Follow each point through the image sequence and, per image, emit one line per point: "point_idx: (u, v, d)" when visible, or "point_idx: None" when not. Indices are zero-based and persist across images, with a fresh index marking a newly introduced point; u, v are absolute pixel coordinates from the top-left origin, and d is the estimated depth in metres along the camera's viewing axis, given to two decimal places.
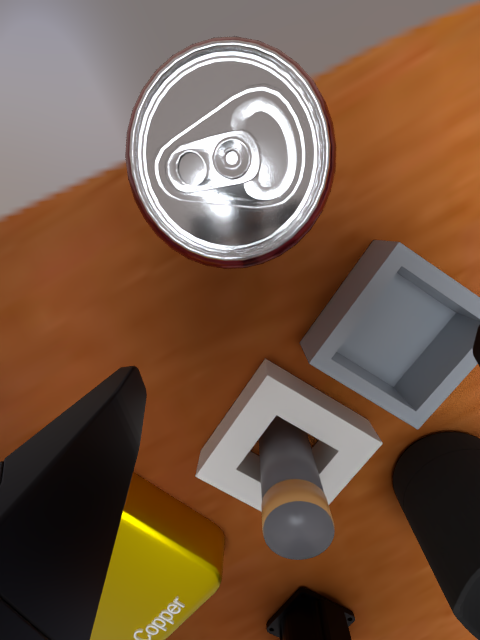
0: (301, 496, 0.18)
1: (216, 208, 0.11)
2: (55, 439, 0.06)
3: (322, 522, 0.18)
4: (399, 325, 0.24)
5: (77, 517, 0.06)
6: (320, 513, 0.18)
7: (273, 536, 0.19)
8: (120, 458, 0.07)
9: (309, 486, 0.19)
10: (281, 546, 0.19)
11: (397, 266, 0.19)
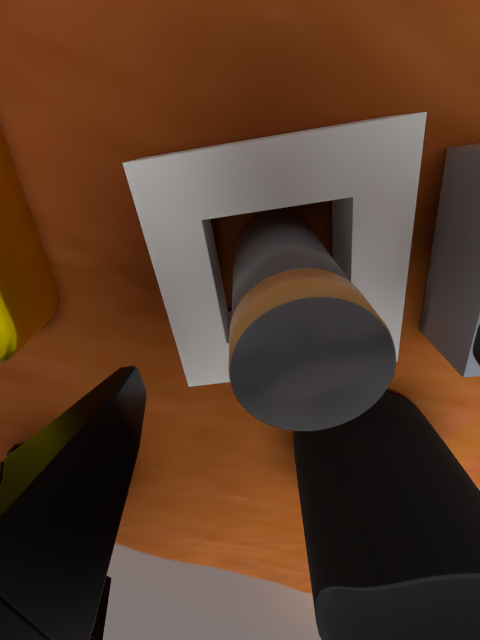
0: None
1: None
2: (55, 439, 0.06)
3: (365, 389, 0.08)
4: None
5: (77, 517, 0.06)
6: (384, 373, 0.08)
7: (265, 344, 0.07)
8: (120, 458, 0.07)
9: None
10: (255, 374, 0.08)
11: None
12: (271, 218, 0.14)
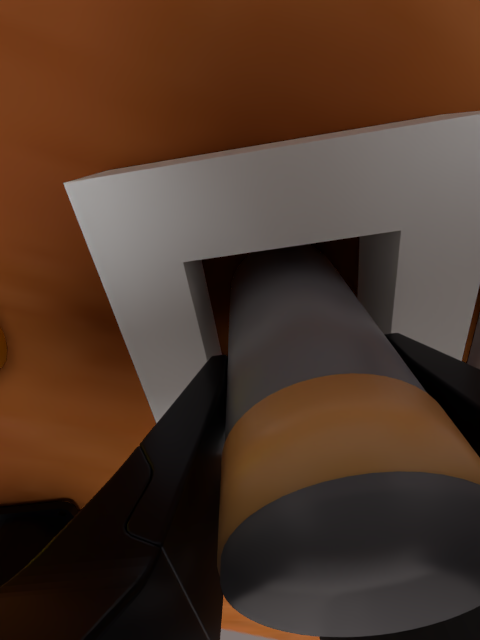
0: None
1: None
2: (185, 424, 0.06)
3: (461, 595, 0.05)
4: None
5: (211, 504, 0.06)
6: None
7: (286, 546, 0.04)
8: None
9: None
10: (265, 580, 0.04)
11: None
12: (280, 252, 0.10)
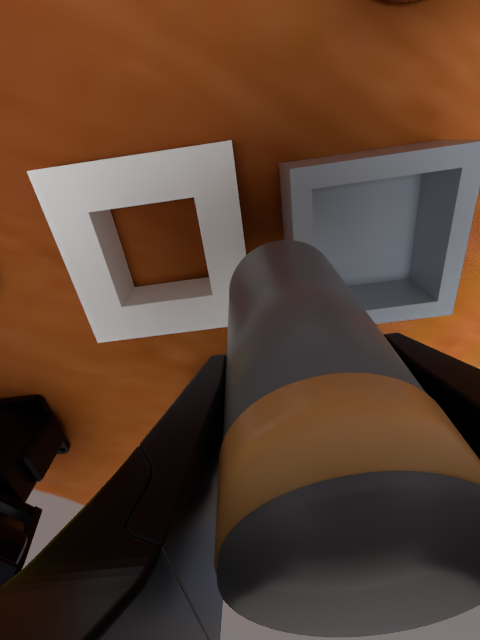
0: None
1: None
2: (185, 424, 0.06)
3: (460, 595, 0.05)
4: (367, 243, 0.20)
5: (210, 504, 0.06)
6: None
7: (283, 546, 0.04)
8: None
9: None
10: (263, 580, 0.04)
11: (459, 163, 0.15)
12: (279, 251, 0.10)
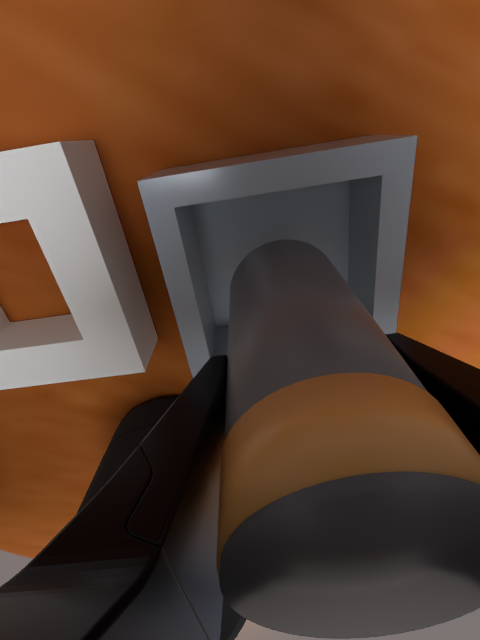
0: None
1: None
2: (185, 424, 0.06)
3: (463, 596, 0.05)
4: None
5: (211, 504, 0.06)
6: None
7: (286, 547, 0.04)
8: None
9: None
10: (265, 582, 0.04)
11: (378, 169, 0.11)
12: (280, 251, 0.10)
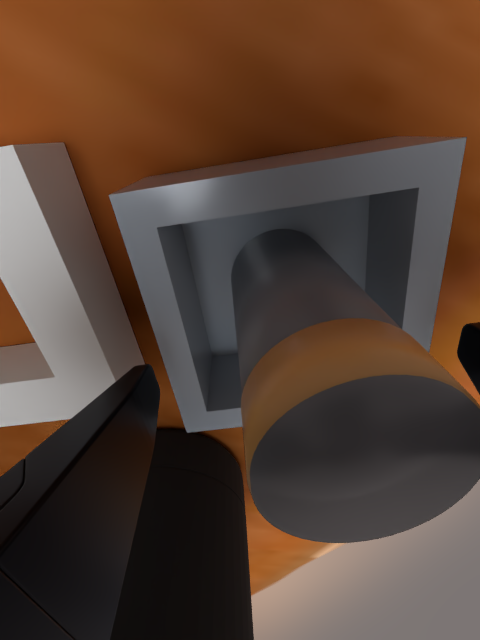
0: None
1: None
2: (75, 437, 0.06)
3: (442, 490, 0.06)
4: None
5: (98, 515, 0.06)
6: (472, 471, 0.06)
7: (305, 444, 0.05)
8: (137, 456, 0.07)
9: None
10: (287, 481, 0.05)
11: (413, 180, 0.08)
12: (278, 238, 0.11)
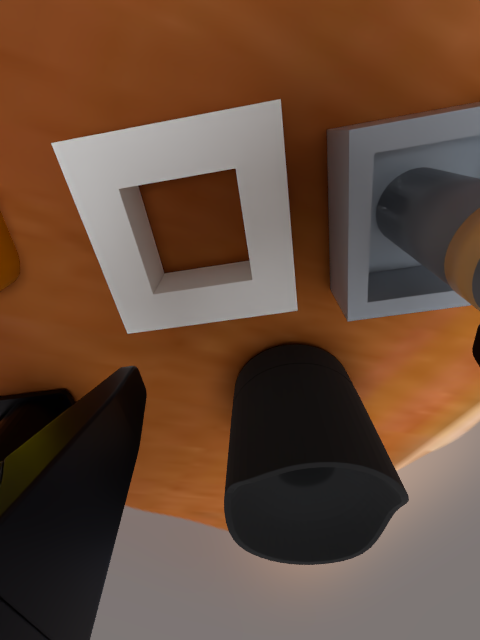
0: None
1: None
2: (55, 439, 0.06)
3: None
4: None
5: (77, 517, 0.06)
6: None
7: None
8: (120, 458, 0.07)
9: None
10: None
11: None
12: (427, 170, 0.16)
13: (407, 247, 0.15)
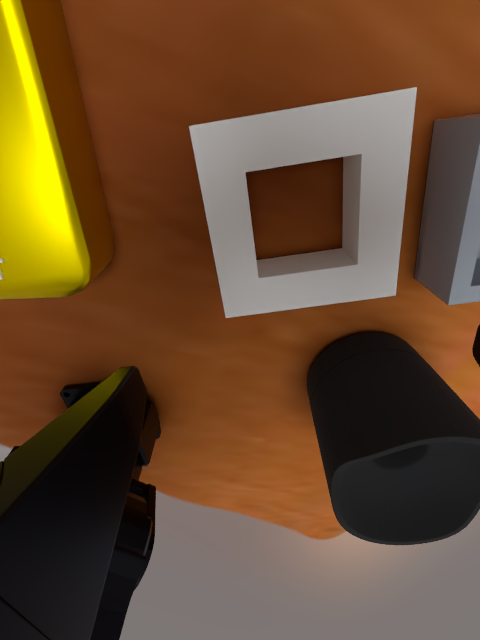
0: None
1: None
2: (55, 439, 0.06)
3: None
4: None
5: (77, 517, 0.06)
6: None
7: None
8: (120, 458, 0.07)
9: None
10: None
11: None
12: None
13: None
